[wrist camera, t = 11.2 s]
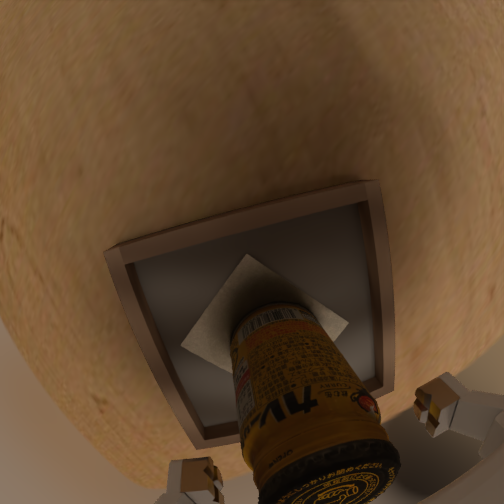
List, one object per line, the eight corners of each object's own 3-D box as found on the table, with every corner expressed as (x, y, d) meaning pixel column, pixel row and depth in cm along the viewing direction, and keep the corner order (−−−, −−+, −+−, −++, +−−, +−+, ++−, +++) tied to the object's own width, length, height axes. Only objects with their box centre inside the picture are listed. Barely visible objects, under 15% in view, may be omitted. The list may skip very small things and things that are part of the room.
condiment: (282, 396, 20) (330, 535, 8) (180, 344, 18) (152, 509, 6) (347, 321, 19) (457, 439, 7) (246, 252, 17) (303, 379, 5)
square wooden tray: (116, 244, 17) (103, 252, 14) (361, 180, 18) (378, 179, 15) (197, 429, 20) (196, 449, 18) (381, 375, 21) (393, 390, 19)
